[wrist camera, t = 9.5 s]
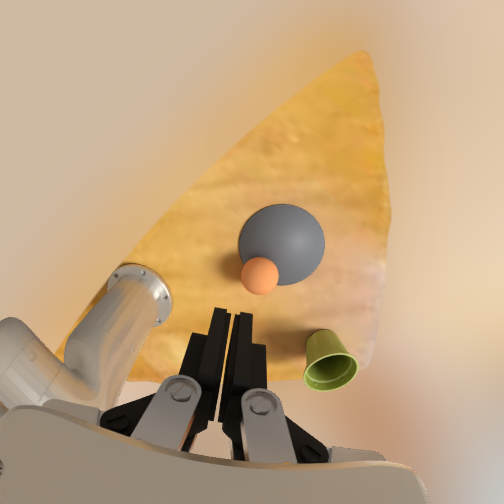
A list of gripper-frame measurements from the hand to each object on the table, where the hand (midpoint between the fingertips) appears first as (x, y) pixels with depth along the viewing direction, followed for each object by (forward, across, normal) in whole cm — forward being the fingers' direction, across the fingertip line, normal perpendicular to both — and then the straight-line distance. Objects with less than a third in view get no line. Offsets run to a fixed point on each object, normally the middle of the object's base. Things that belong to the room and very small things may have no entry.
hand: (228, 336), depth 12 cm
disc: (+29, -6, +5) cm, 30 cm away
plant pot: (+29, -18, +22) cm, 41 cm away
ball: (+26, -3, +9) cm, 28 cm away
